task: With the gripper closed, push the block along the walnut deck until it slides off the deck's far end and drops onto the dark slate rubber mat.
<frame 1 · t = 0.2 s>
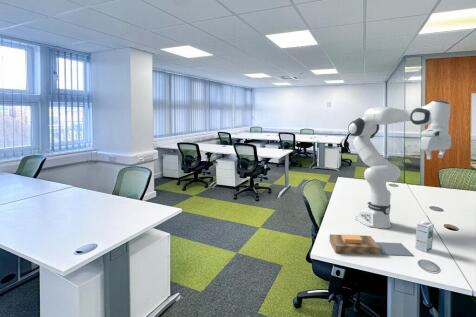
hand: (434, 158, 150), 48 cm above the table, fingers open, 8 cm apart
mat: (391, 249, 151), on the table
block: (351, 240, 152), point 4 cm above the table, touching deck
deck: (353, 247, 153), on the table
syrup box: (423, 249, 151), on the table
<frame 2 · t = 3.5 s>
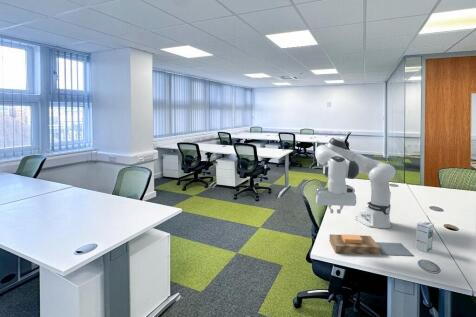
hand: (335, 213, 151), 19 cm above the table, fingers closed
nothing on the table moved.
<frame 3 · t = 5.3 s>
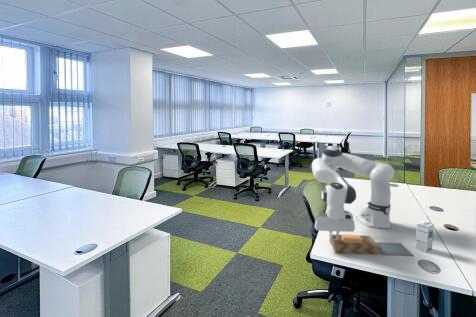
hand: (333, 238, 153), 5 cm above the table, fingers closed
nothing on the table moved.
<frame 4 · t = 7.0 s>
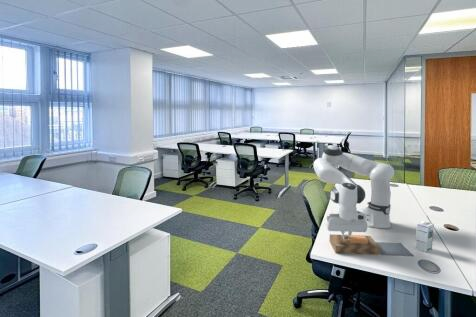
hand: (345, 238, 153), 5 cm above the table, fingers closed
block: (357, 240, 152), point 4 cm above the table, touching deck, gripper
everything else where it was.
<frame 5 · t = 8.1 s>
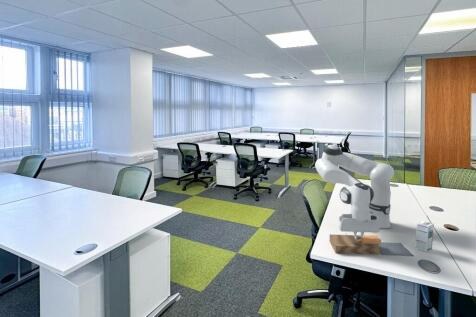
hand: (358, 239, 152), 5 cm above the table, fingers closed
block: (369, 241, 152), point 4 cm above the table
everything else where it was.
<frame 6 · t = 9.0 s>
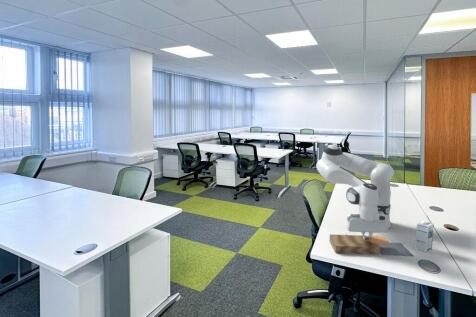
hand: (366, 239, 152), 5 cm above the table, fingers closed
block: (377, 241, 151), point 4 cm above the table, tilted 8°, touching gripper
everything else where it was.
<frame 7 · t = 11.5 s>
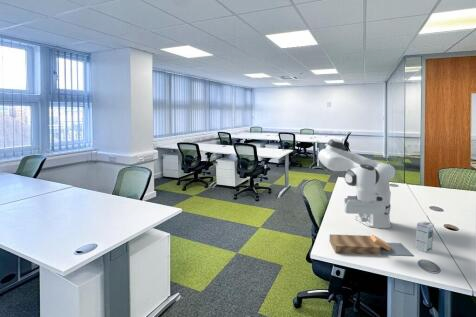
hand: (363, 221, 150), 15 cm above the table, fingers closed
block: (379, 244, 151), point 3 cm above the table, tilted 30°, touching deck, mat
everything else where it was.
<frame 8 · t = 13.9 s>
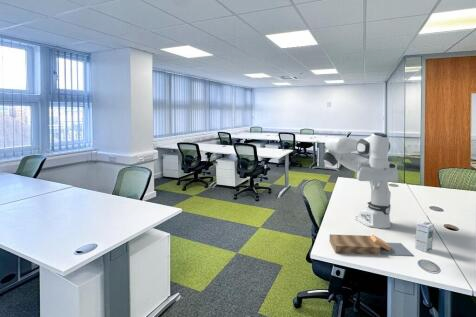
hand: (376, 189, 153), 31 cm above the table, fingers closed
nothing on the table moved.
at the end: block point 2.7 cm above the table; block 6.2 cm from the mat (horizontally) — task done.
